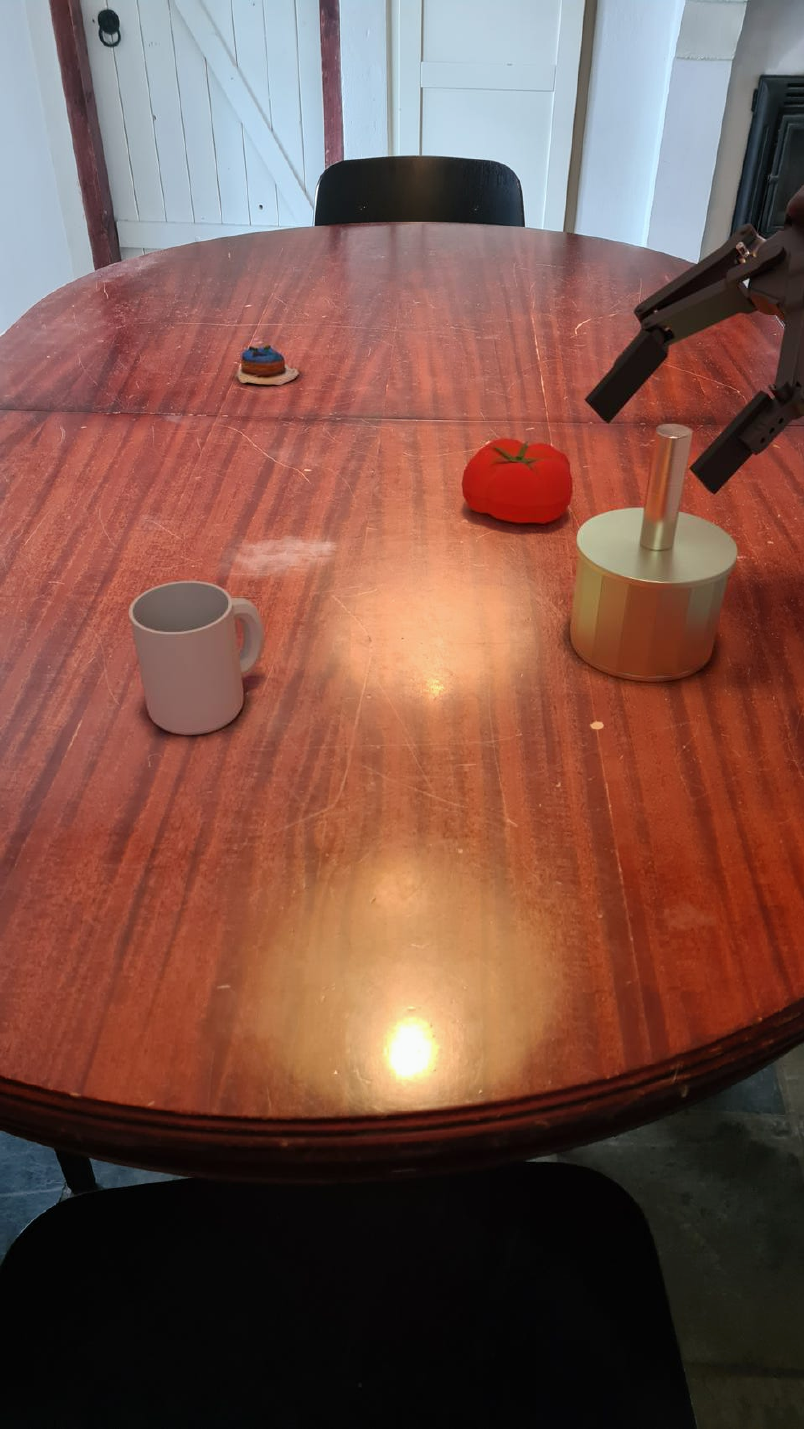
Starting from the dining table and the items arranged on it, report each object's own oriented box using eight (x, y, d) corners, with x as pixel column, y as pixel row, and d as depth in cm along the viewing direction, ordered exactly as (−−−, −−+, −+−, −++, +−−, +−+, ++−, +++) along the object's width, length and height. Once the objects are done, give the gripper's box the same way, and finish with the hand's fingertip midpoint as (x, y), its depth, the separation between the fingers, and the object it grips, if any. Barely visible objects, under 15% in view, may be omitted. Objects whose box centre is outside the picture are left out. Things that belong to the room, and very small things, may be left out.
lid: (729, 608, 74) (758, 475, 68) (561, 582, 77) (574, 453, 71) (739, 532, 83) (766, 409, 77) (589, 512, 86) (602, 392, 80)
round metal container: (705, 693, 79) (725, 597, 74) (558, 667, 82) (568, 573, 77) (716, 617, 88) (735, 527, 83) (583, 597, 91) (593, 508, 86)
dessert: (224, 377, 133) (235, 332, 133) (244, 392, 139) (255, 349, 139) (280, 389, 131) (292, 343, 131) (298, 404, 138) (309, 360, 137)
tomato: (477, 485, 109) (480, 425, 105) (580, 500, 106) (586, 439, 102) (449, 525, 102) (450, 462, 98) (558, 543, 99) (564, 479, 95)
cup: (130, 704, 78) (110, 603, 73) (242, 656, 84) (231, 559, 78) (178, 750, 74) (160, 646, 69) (293, 697, 79) (285, 596, 74)
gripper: (1038, 279, 62) (781, 547, 67) (772, 201, 81) (585, 415, 85) (1003, 189, 57) (728, 484, 62) (729, 127, 76) (532, 358, 80)
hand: (644, 445), depth 74 cm, fingers open, 13 cm apart
